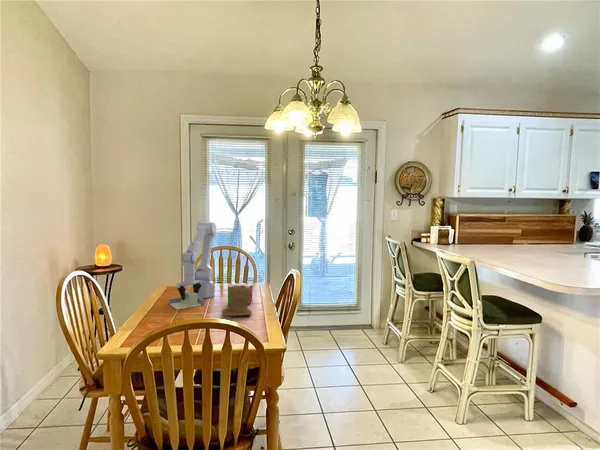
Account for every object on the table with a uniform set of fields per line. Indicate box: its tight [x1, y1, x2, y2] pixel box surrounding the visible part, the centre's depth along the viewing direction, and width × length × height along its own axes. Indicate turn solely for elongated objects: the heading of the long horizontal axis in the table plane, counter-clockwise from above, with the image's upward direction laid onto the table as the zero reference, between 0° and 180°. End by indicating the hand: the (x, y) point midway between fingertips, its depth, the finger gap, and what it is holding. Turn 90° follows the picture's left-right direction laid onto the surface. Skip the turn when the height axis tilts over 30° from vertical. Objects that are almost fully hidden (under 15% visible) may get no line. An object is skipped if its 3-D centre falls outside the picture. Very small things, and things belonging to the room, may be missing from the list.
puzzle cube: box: [227, 282, 253, 306], centre depth 216 cm, size 10×10×10 cm
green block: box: [181, 290, 197, 306], centre depth 212 cm, size 9×4×6 cm, turn 47°
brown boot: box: [221, 285, 253, 317], centre depth 197 cm, size 15×12×15 cm
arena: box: [168, 296, 205, 310], centre depth 212 cm, size 15×12×3 cm
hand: (189, 298), depth 212 cm, fingers open, 7 cm apart
